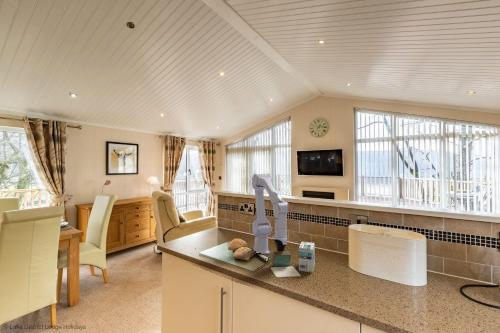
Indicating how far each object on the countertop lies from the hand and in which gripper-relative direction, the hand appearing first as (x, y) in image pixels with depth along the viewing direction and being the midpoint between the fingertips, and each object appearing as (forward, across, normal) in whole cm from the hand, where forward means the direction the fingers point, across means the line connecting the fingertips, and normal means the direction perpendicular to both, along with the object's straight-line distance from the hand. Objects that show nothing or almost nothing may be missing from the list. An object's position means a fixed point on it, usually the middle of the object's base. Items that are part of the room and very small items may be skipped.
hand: (280, 254), depth 117 cm
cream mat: (+5, +8, 0) cm, 9 cm away
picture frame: (+5, 0, 0) cm, 5 cm away
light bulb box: (+5, +4, +12) cm, 14 cm away
